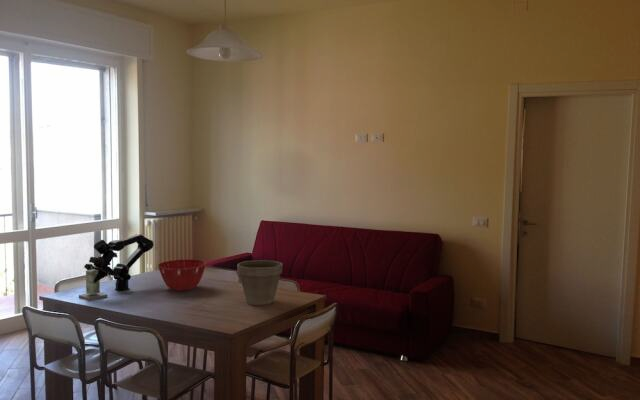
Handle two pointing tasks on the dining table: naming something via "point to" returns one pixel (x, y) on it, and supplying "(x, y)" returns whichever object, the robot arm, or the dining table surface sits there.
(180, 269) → the mixing bowl
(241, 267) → the plant pot
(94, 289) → the green post
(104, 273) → the robot arm
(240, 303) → the dining table surface
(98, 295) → the base board
